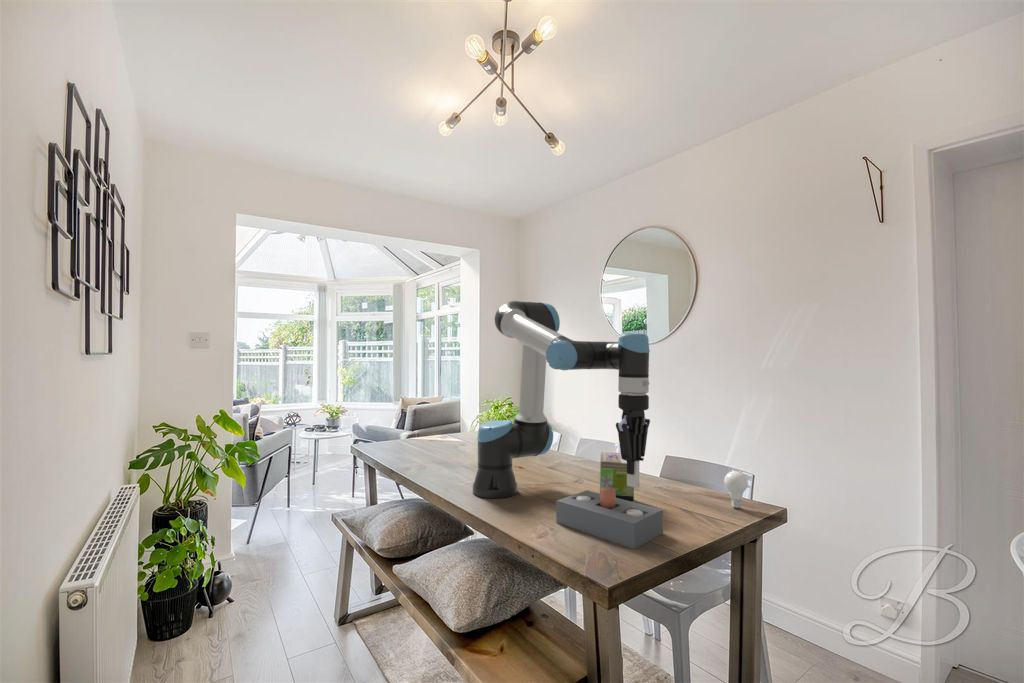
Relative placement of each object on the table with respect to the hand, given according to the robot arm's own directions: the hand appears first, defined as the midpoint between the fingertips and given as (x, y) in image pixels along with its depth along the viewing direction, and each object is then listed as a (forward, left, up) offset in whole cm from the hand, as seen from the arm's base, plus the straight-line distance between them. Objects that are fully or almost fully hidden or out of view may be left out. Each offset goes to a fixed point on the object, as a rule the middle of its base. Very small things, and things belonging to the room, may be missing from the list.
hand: (633, 486), depth 116 cm
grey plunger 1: (-16, 0, -12) cm, 20 cm away
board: (-8, 0, -13) cm, 15 cm away
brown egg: (-8, 0, -8) cm, 11 cm away
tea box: (-17, +18, -13) cm, 28 cm away
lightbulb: (+10, +41, -13) cm, 44 cm away
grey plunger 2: (0, 0, -12) cm, 12 cm away
